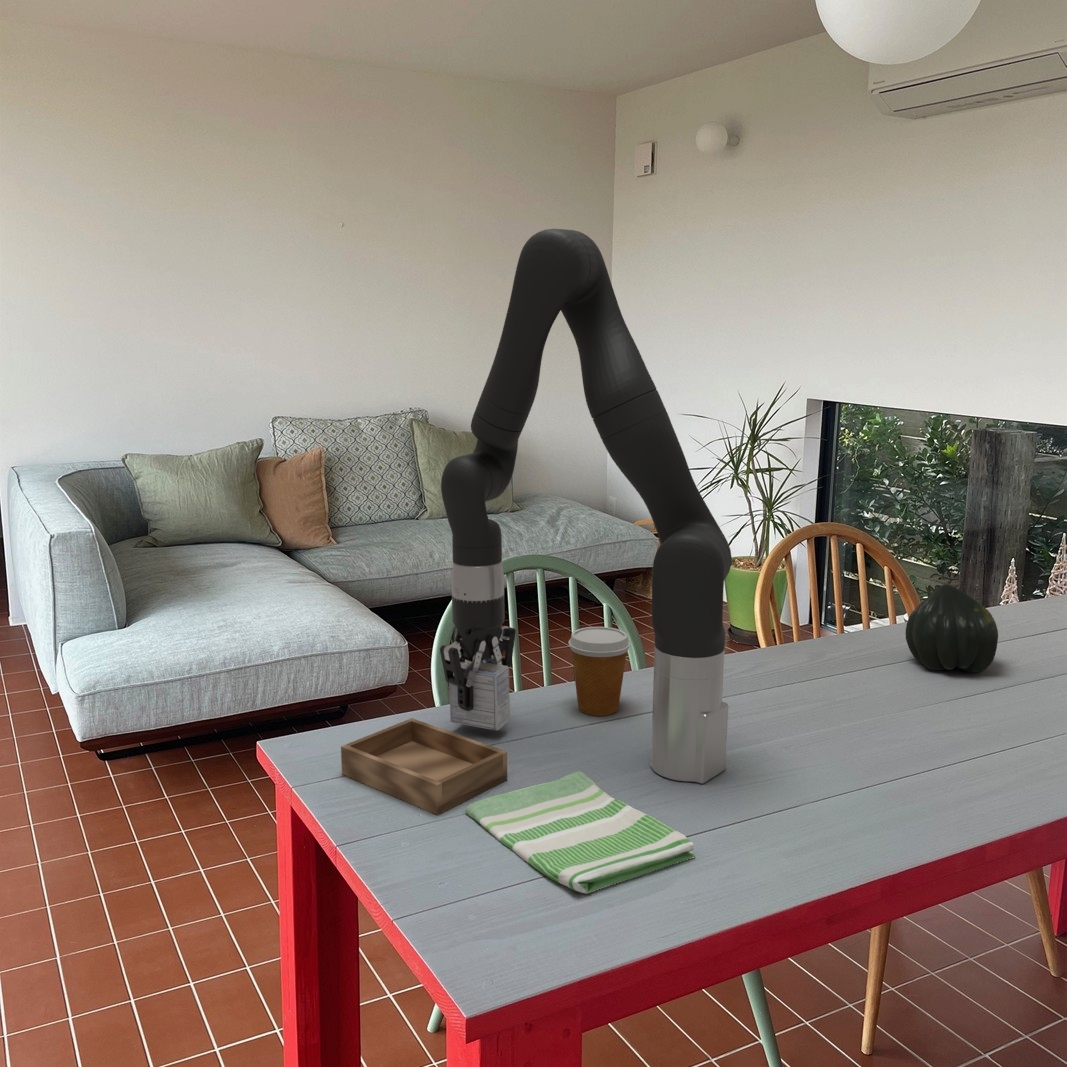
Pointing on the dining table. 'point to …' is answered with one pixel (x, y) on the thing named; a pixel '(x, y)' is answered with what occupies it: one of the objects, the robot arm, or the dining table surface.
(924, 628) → the squash
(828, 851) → the dining table surface
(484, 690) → the medicine box
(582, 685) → the disposable coffee cup
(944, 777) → the dining table surface
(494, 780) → the tray
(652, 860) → the dish towel
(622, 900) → the dining table surface
